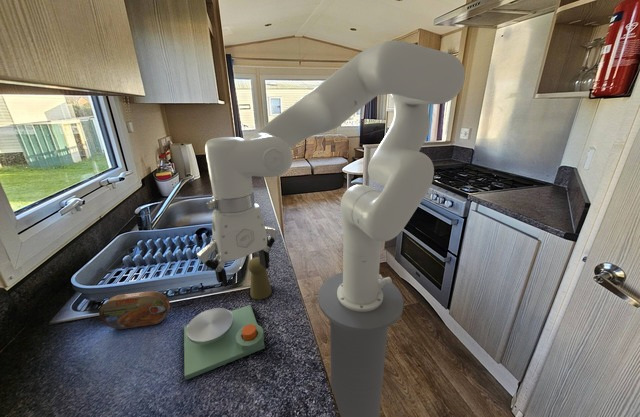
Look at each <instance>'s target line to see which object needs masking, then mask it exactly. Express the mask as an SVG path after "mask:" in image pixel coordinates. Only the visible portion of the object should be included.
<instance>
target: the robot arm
mask: <svg viewBox="0 0 640 417" xmlns="http://www.w3.org/2000/svg"><path fill="white" fill-rule="evenodd" d="M465 79H466V70H465V67H464V65H463V63H462V61H461V60H460V59H459V58H458V57H457V56H455V55H454V54H452V53H450V52H447V51H446V52H445V51H442V50H440V49H439V50H438V49H436V48H435V49H434V48H431V47H427V46H423V45H419V44H416V43H412V42H409V41H408V42H407V41H404V40H403V41H402V40H387V41H384V42H382V43H379V44H377V45H374V46H372V47H369V48H367V49H364V50H362V51H361V52H359V53H358V54H356V55H355V56H354V57H352V58H351V59H350V60H349V61H347V62H346V63H345V64H343V65H342V66H341V67H340V68H338V69H337V70H336V71H335V72H334V73H332V74H330V76H329V77H328V78H326V79H324V81H322V82H321V83H320V84H318V85H317V86H316V87H314V88H313V89H312V90H311V91H309V92H307V93H306V94H305V95H303V96H302V97H301V98H299V99H298V100H297V101H296V102H295V103H293V104H291V105H290V106H289V107H287V108H286V109H285V110H283V111H281V113H278V115H277V116H275V117H274V118H272V119H271V120H270V121H268V122H267V123H266V124H265V125H264V126H262V127H261V128H260V129H258V130H257V131H256V132H255V133H254V134H253V135H252V136H251V137H250V138H249V139H244V138H242V137H239V136H221V137H214V138H211V139H207V141H206V142H205V145H204V150H205V157H206V163H207V169H208V175H209V180H210V185H211V192H212V196H211V197H212V199H211V200H210V201H206V207H207V209H208V210H211V209H212V217H211V229H212V230H211V232H212V241H211V242H209V243H208V244H207V245H206V246H204V247H203V248H202V249H201V250H200V251H199V252H197V253H196V257H197V258H198V260H199V261H201V262H202V263H203V264H204V265H205V266H206V267H207V268H209V269H212V270H214V272H215V277H216V281H217V283H219V284H220V283H221V284H222V286H223V287H224V288H226V287H228V285H229V282H228V277H227V271H226V269H225V265H226V264H227V263H230V262H234V261H236V260H239V259H242V258H245V257H247V256H250V255H253V254H255V253H257V252H258V257H259V259H260V264H261V265H262V266H263V267H264V268H266V270H268V269H269V268H270V262H271V261H270V260H271V259H270V252H271V250H272V249H271V248H272V246H273V245H274V244H275V242H276V237H277V234H278V230H277V229H276V228H274V227H270V226H265V220H264V217H263V213H262V210H261V207H260V205H259V204H258V203H256V202H255V194H254V187H253V178H252V177H260V178H261V177H263V178H276V177H279V176H281V175H284V174H285V173H287V172H288V171H289V170H290V168H291V167H292V164H293V161H294V154H293V151H292V149H294V147H296V146H297V145H299V144H301V142H303V141H305V140H307V139H309V138H311V137H313V136H316V135H320V134H324V133H327V132H330V131H332V130H335V129H337V128H339V127H340V126H341V125H342V124H344V123H345V122H346V121H348V119H350V118H351V117H352V116H353V115H355V114H356V113H357V112H359V110H361V109H362V108H364V106H367V104H369V103H370V102H371V101H372V100H374V99H375V98H376V97H378V96H383V95H391V98H392V103H393V107H394V114H393V120H392V123H391V125H390V127H389V129H388V131H386V134H385V135H384V137H383V138H382V140H381V141H380V143H379V145H378V147H377V148H376V150H375V152H374V153H373V155H372V157H371V159H370V160H369V162H368V165H367V175H368V176H369V178H370V180H372V181H373V182H374V183H375V184H377V185H379V186H381V187H383V189H382V190H381V191H380V190H378V189H376V188H374V187H372V186H369V185H367V184H355V185H352V186H350V187H349V188H348V189H346V190H345V192H344V193H343V195H342V197H341V200H340V217H341V223H342V234H343V235H342V236H343V237H342V238H343V241H342V242H343V243H342V244H343V245H342V246H343V247H342V256H343V257H342V272H343V283H342V284H341V285H340V286H339V287H338V290H337V298H338V300H339V302H340V303H341V304H342V305H343V306H345V307H346V308H348V309H350V310H353V311H358V312H367V311H372V310H374V309H376V308H378V307H379V306H380V305H381V303H382V301H383V292H382V290H381V288H383V286H384V285H388V284H391V283H393V280H392V278H391V277H390V276H387V277H384V279H382V277H383V276H382V274H380V266H381V263H380V262H381V251H382V242H383V243H384V242H389V241H391V240H394V239H395V238H396V237H397V236H398V235H399V234H400V233H401V232H402V231H403V230H404V228H405V227H406V226H407V224H408V222H410V219H411V218H412V217H413V215H414V213H415V212H416V210H417V209H418V207H419V206H420V204H421V203H422V202H423V200H424V198H425V197H426V195H427V194H428V192H429V190H430V189H431V187H432V183H433V180H434V175H435V166H434V163H433V161H432V159H431V158H430V157H429V156H428V155H426V154H425V153H423V152H422V151H421V149H422V147H423V145H424V143H425V142H426V140H427V138H428V135H429V134H430V133H429V132H430V125H431V124H430V115H429V109H428V105H441V104H443V105H444V104H446V103H448V102H450V101H452V100H454V99H455V98H456V97H457V96H458V95H459V93H460V92H461V91H462V89H463V86H464V84H465ZM267 234H268V236H267ZM213 252H215V254H216V255H215V257H214V258H213V259H212V258H209V256H210V254H212V253H213ZM381 279H382V280H381Z"/></svg>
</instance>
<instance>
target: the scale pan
mask: <svg viewBox="0 0 640 417" xmlns="http://www.w3.org/2000/svg"><path fill="white" fill-rule="evenodd" d="M230 311H231V310H229V309H227V308H224V307H214V308H209V309H206V310H204V311H202V312H200V313H198V314H197V315H196V316H194V317H193V318H192V319H191V320H190V322H188V324H187V325H188V327H187V336H188V338H189V340H190V341H191V342H193V343H195V344H209V343H212V342H215V341H217V340H219V339H221V338H222V337H224V336H225V335H226V334H227V333H228V332H229V331H230V329H231V328H232V326H233V321H234V320H233V315H232V313H231V312H230Z"/></svg>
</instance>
